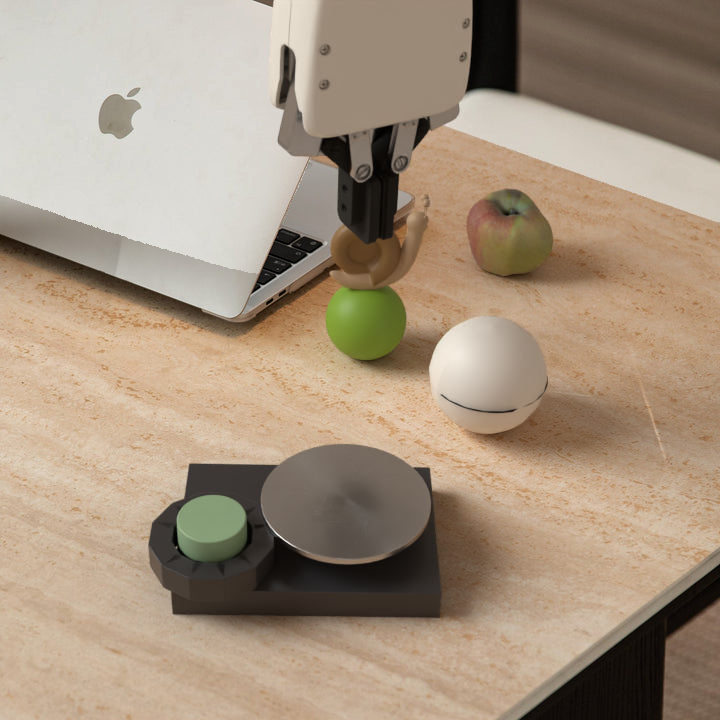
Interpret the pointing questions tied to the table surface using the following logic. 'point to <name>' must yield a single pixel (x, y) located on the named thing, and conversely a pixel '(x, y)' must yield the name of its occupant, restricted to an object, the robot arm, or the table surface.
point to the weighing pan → (345, 504)
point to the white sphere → (488, 374)
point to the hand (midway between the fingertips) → (366, 230)
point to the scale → (287, 564)
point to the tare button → (212, 528)
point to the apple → (508, 233)
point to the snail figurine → (371, 289)
